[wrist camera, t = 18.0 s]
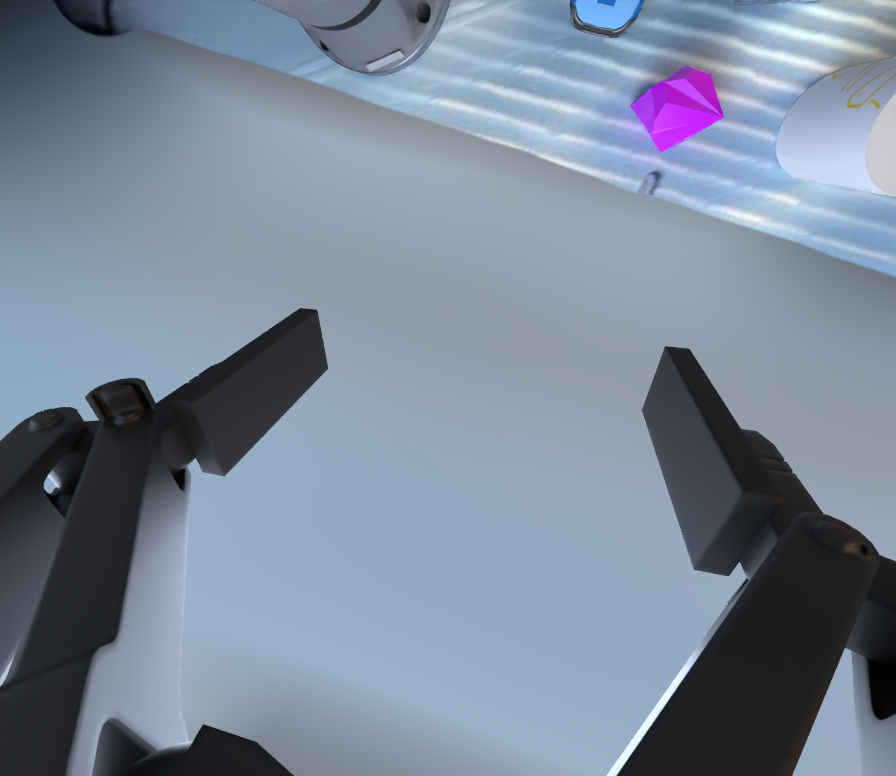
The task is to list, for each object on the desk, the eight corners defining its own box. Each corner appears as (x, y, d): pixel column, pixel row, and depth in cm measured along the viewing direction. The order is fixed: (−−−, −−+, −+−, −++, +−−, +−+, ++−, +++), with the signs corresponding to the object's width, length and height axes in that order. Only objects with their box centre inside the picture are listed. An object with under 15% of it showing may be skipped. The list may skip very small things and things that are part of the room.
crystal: (692, 59, 32) (711, 50, 29) (708, 126, 34) (727, 125, 31) (628, 100, 35) (637, 96, 31) (647, 160, 37) (657, 163, 33)
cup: (916, 49, 29) (1097, 6, 20) (880, 168, 33) (1016, 182, 24) (786, 82, 32) (889, 59, 22) (767, 190, 36) (848, 210, 26)
